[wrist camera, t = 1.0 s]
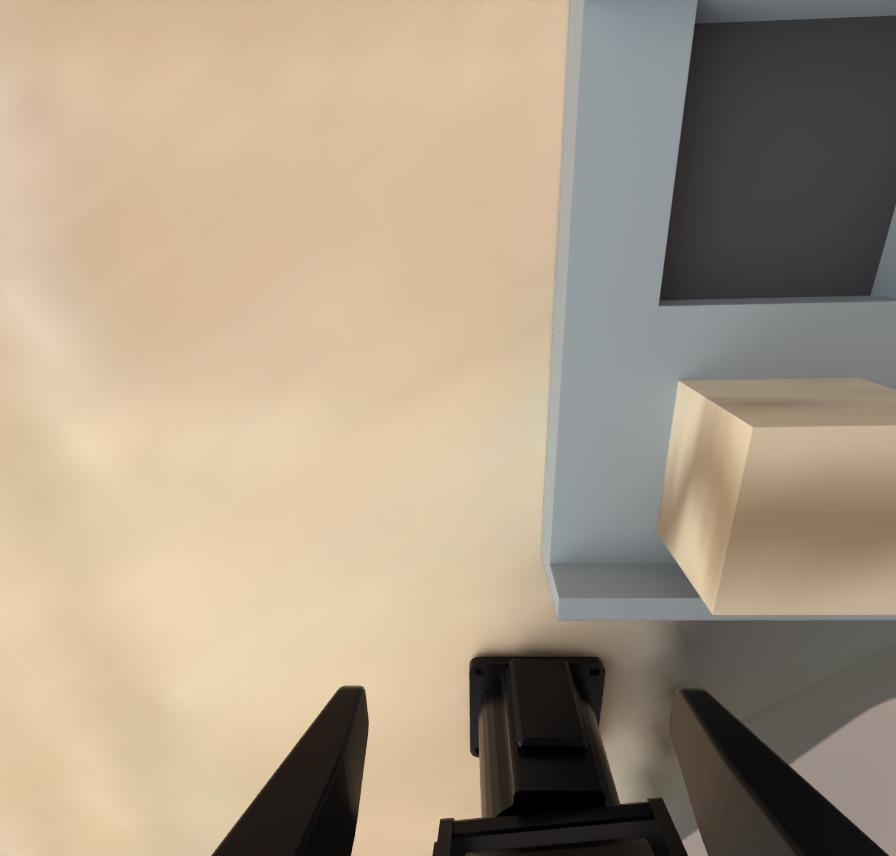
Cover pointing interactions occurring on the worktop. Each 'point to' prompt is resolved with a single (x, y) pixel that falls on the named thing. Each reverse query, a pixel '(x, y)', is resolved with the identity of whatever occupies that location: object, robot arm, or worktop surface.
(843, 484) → the maple block
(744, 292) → the board
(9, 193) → the worktop surface
